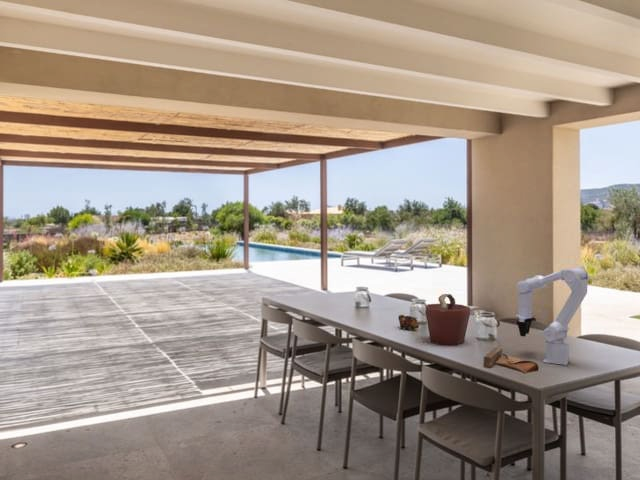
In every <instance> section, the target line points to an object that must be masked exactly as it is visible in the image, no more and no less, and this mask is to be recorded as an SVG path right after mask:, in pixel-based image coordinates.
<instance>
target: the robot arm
mask: <svg viewBox="0 0 640 480" xmlns="http://www.w3.org/2000/svg"><path fill="white" fill-rule="evenodd" d="M589 279H590V276H589V273H588V272H587V269H585V268H583V267H576V268H565V269H561V270H558V271H555V272H553V273H550V274H547V275H545V276H543V275H539V274H536V275H534V277H531V278H530V277H529V278H526V279H525V280H520V281H518V282H517V283H516V285H515V289H516V290H517V291H516V292H518V314H515V317H518V319H519V320H516V321H515V323H516V325H517V327H518V330H519V335H520V337H524V338H525V337H527V334H529V333H530V330H531V325H532V322H533V321H534V318H533V315H532V299H533V292H534V291H536V290H539V289H543V288H545V287H547V284H549V283H552V282H556V281H564V282H565V284H566V285H567V286H568V287H569V288H570V290H571V293H570V294H569V296H568V298H567V299H566V301H565V303H564V305H563V306H562V308H561V310H560V311H559V313H558V315H557V317H556V318H555V320H554V321H553V322H552V323H550V324H549V325H548V327H546V328H545V329H544V330H543V332H542V337H543V339H544V340H545V358H544V359H543V362H544V363H548V364H555V365H556V364H557V365H562V366H567V365H568V364H569V362H570V343H567V342H565V339H566V338H567V335H568V331H569V329H570V328H569V324H570V322H571V321H572V319H573V317H574V316H575V314H576V312H577V311H578V309H579V308H580V305H581V304H582V302H583V301H584V299H585V297H586V296H587V294H588V284H589V283H588V281H589Z"/></svg>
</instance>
